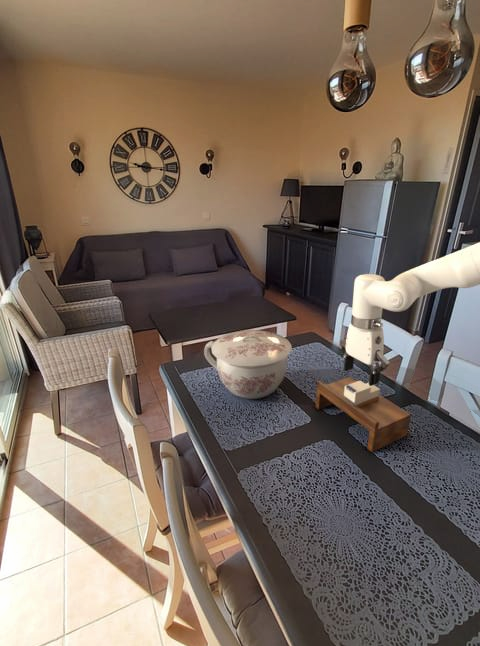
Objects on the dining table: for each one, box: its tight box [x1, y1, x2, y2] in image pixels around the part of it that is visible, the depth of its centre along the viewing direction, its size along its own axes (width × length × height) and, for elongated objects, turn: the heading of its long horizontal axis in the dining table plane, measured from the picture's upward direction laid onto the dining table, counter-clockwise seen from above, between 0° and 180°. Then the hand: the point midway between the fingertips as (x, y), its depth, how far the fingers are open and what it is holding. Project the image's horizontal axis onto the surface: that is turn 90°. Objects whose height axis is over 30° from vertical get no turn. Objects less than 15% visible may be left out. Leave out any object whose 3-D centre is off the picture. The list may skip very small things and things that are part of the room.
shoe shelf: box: [315, 376, 412, 453], centre depth 109 cm, size 14×24×10 cm, turn 28°
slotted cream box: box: [344, 380, 381, 407], centre depth 107 cm, size 10×4×6 cm, turn 118°
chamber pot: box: [203, 329, 293, 400], centre depth 126 cm, size 28×28×21 cm
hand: (360, 376), depth 103 cm, fingers open, 9 cm apart
